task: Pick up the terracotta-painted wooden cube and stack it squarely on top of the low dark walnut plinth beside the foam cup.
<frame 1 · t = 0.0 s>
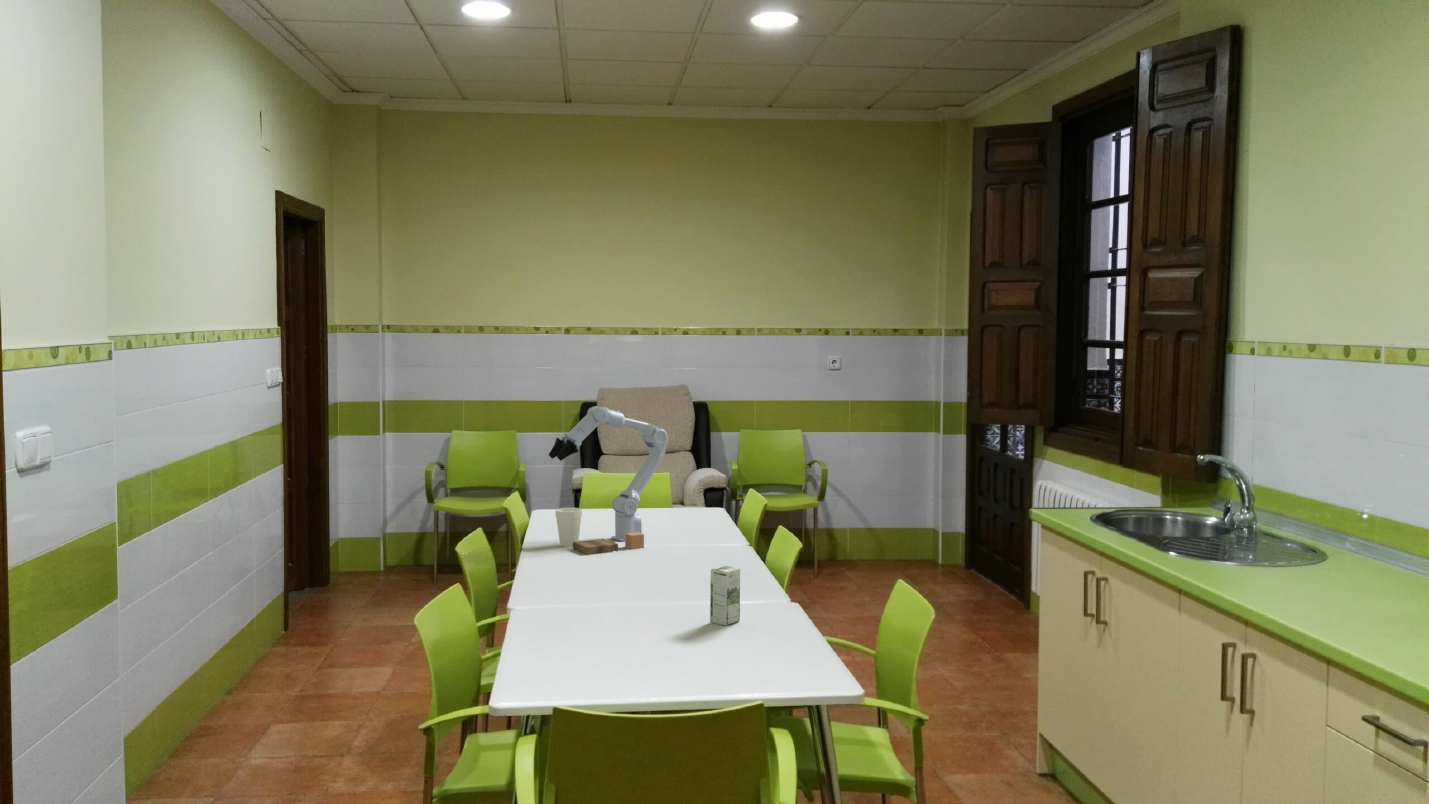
hand: (554, 457, 379), 32 cm above the table, tool tilted 50°, fingers open, 7 cm apart
foam cup: (569, 545, 384), on the table
terracotta block: (634, 547, 380), on the table
syrup box: (725, 622, 280), on the table
walnut plinth: (595, 551, 375), on the table
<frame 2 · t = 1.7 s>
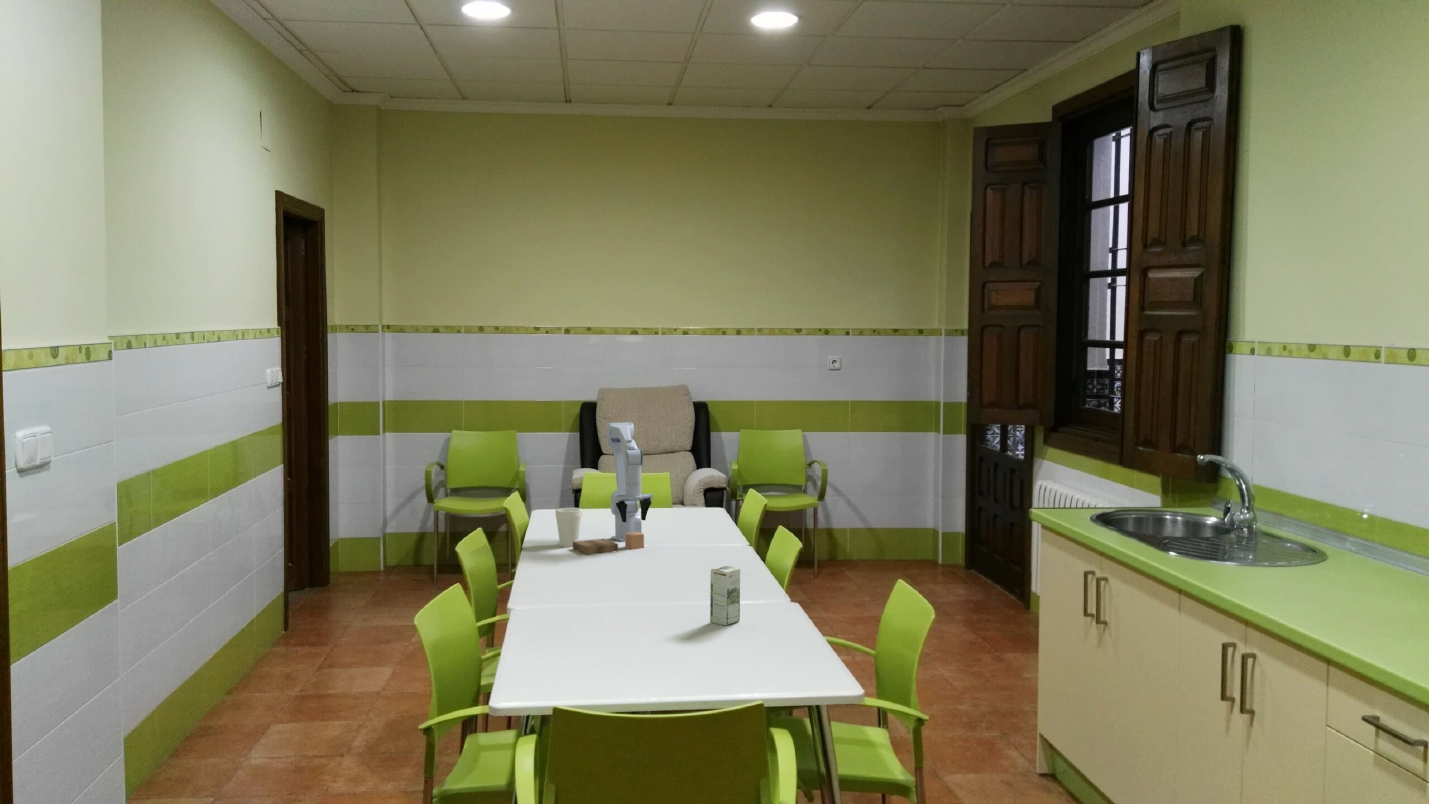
hand: (633, 520, 379), 10 cm above the table, tool pointing down, fingers open, 7 cm apart
nothing on the table moved.
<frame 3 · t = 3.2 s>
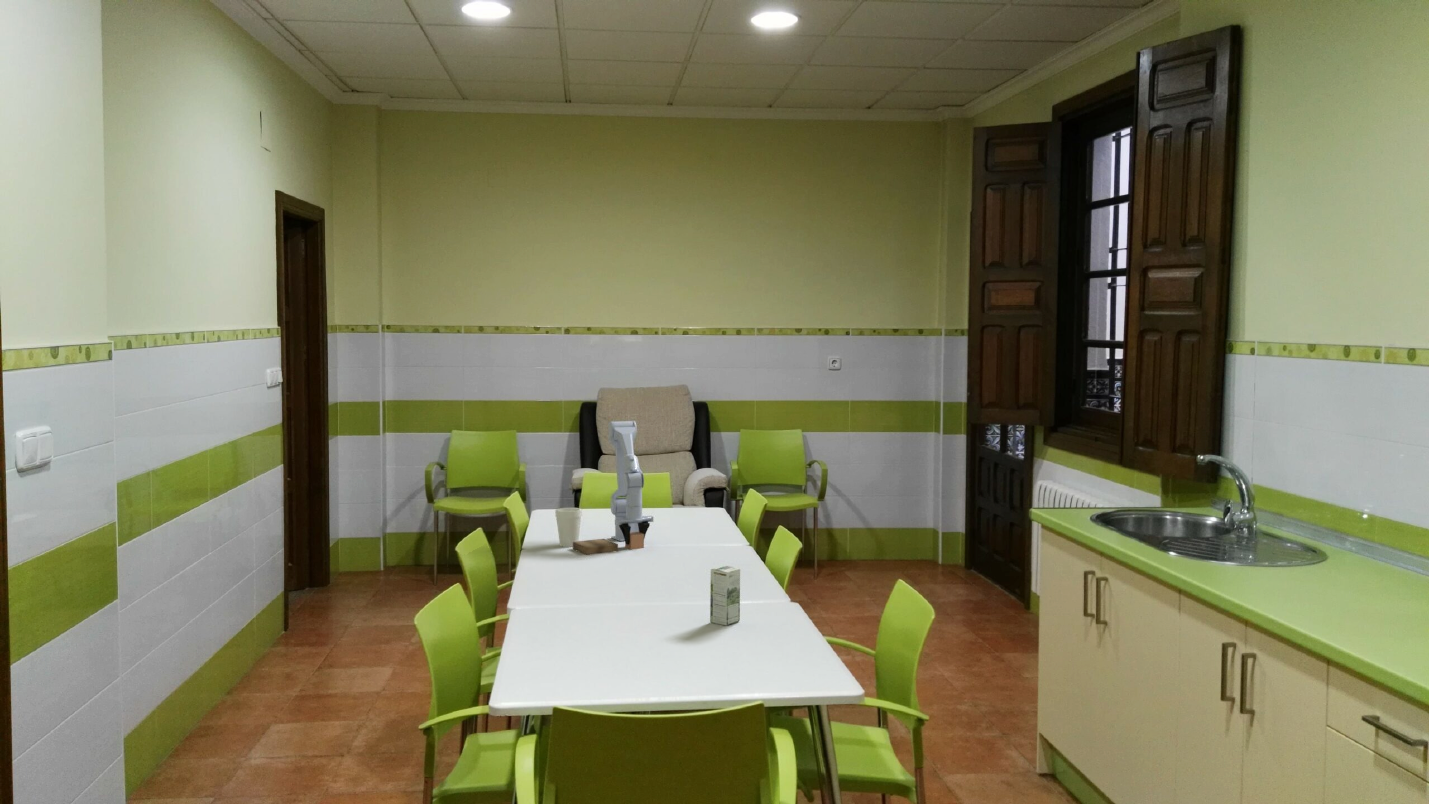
hand: (634, 543, 379), 1 cm above the table, tool pointing down, fingers closed on terracotta block, 5 cm apart
terracotta block: (634, 547, 380), on the table, touching gripper
everything else where it was.
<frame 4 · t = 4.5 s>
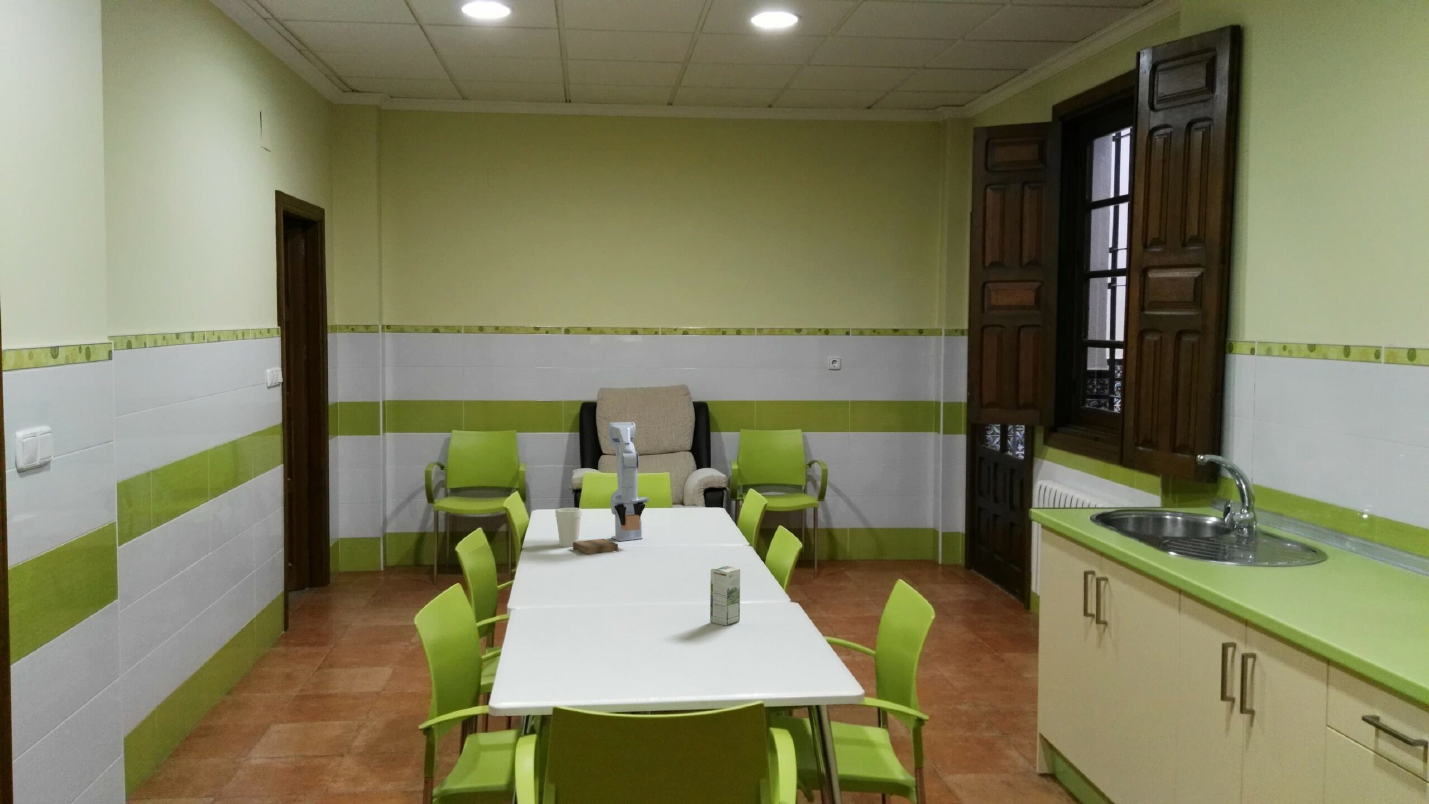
hand: (629, 524, 378), 8 cm above the table, tool pointing down, fingers closed on terracotta block, 5 cm apart
terracotta block: (630, 528, 378), point 7 cm above the table, touching gripper
everything else where it was.
when the fingers open (5 cm above the table, at t = 6.3 s): terracotta block drops 1 cm, resting on walnut plinth.
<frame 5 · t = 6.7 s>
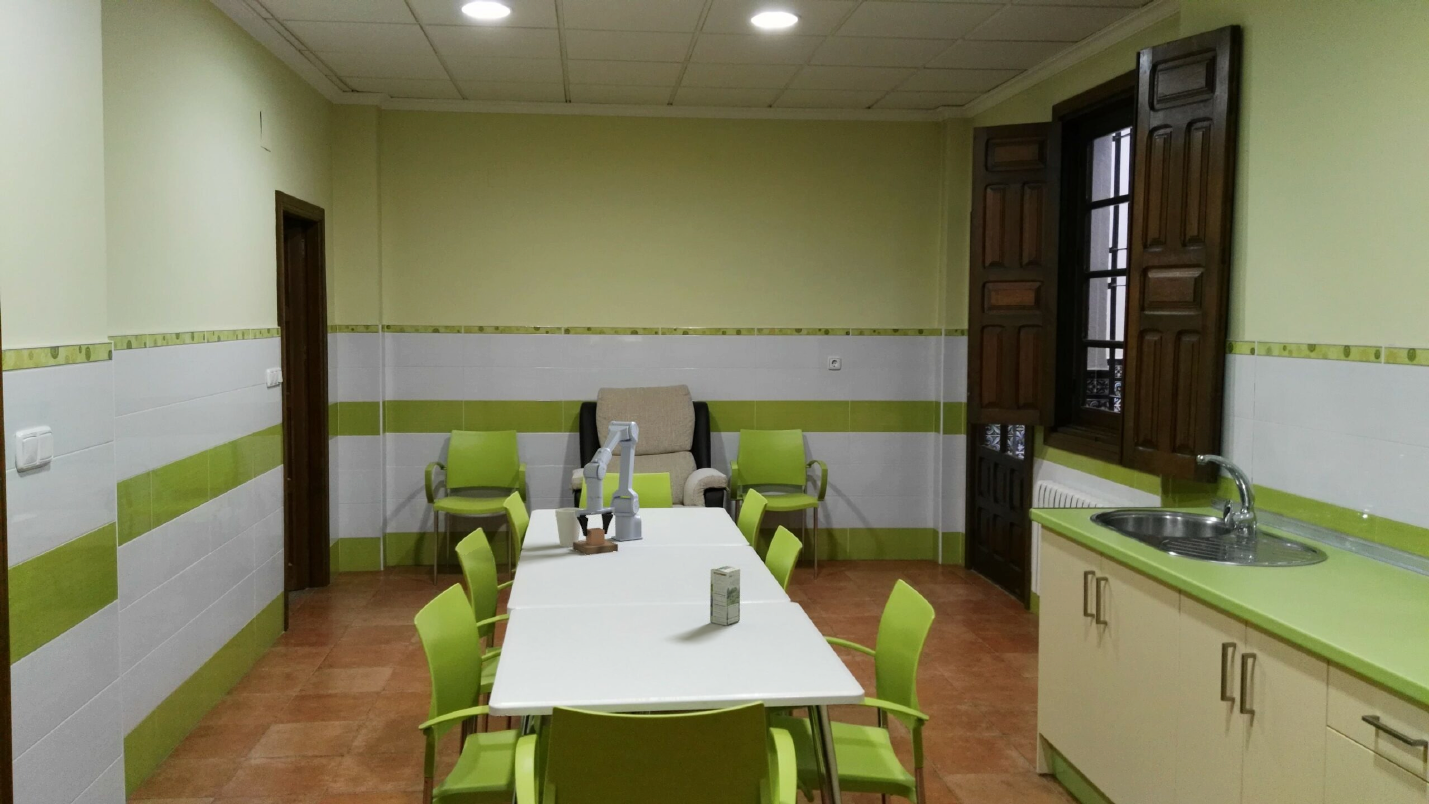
hand: (595, 534, 375), 5 cm above the table, tool pointing down, fingers open, 7 cm apart
terracotta block: (595, 543, 375), point 2 cm above the table, touching walnut plinth
walnut plinth: (595, 551, 375), on the table, touching terracotta block
everything else where it was.
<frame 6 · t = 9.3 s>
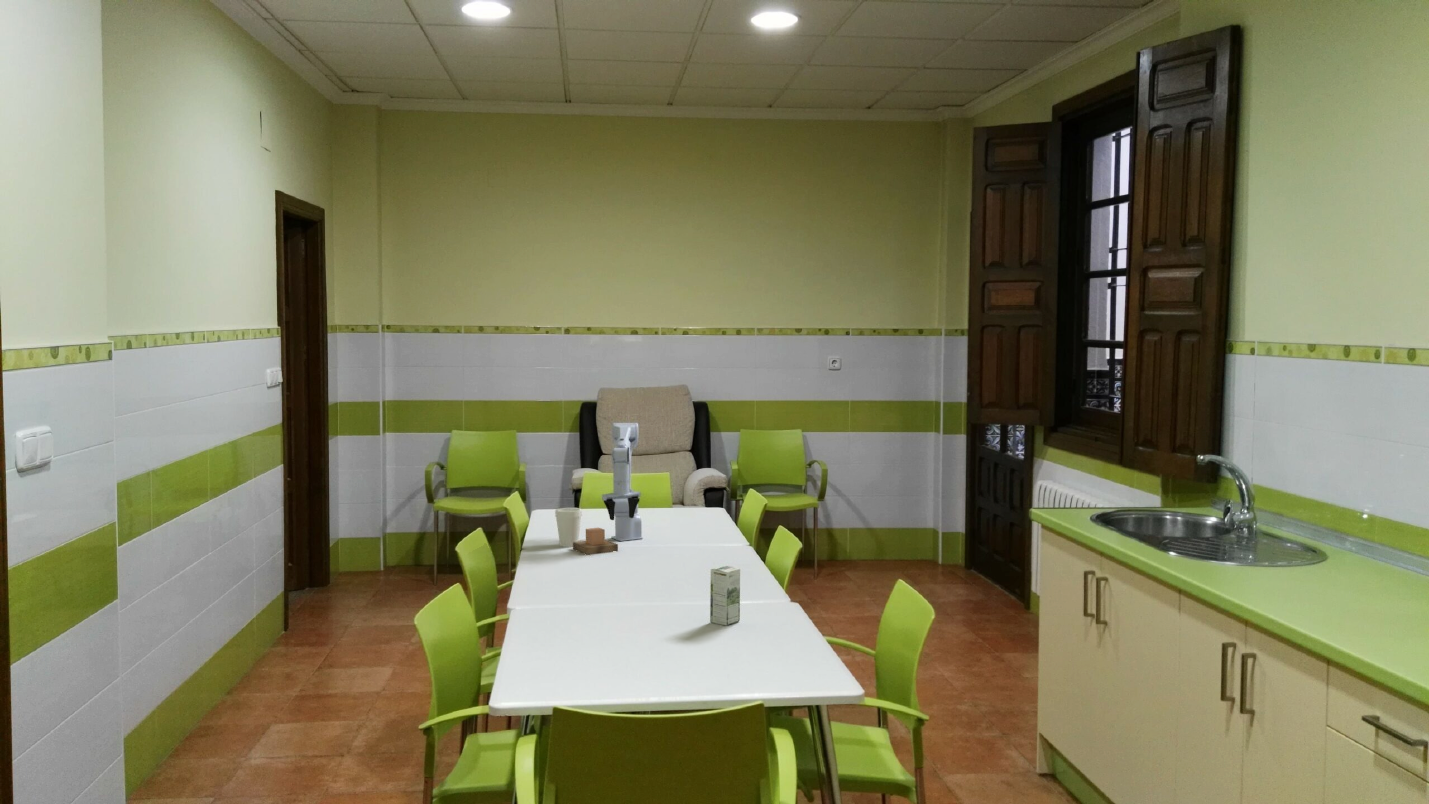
hand: (621, 518, 379), 10 cm above the table, tool pointing down, fingers open, 7 cm apart
terracotta block: (595, 543, 375), point 2 cm above the table
walnut plinth: (595, 551, 375), on the table
everything else where it was.
at the end: terracotta block 0.1 cm off-centre on the walnut plinth, point 3.0 cm above the walnut plinth's base; terracotta block tilted 1°; the gripper is holding nothing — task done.
